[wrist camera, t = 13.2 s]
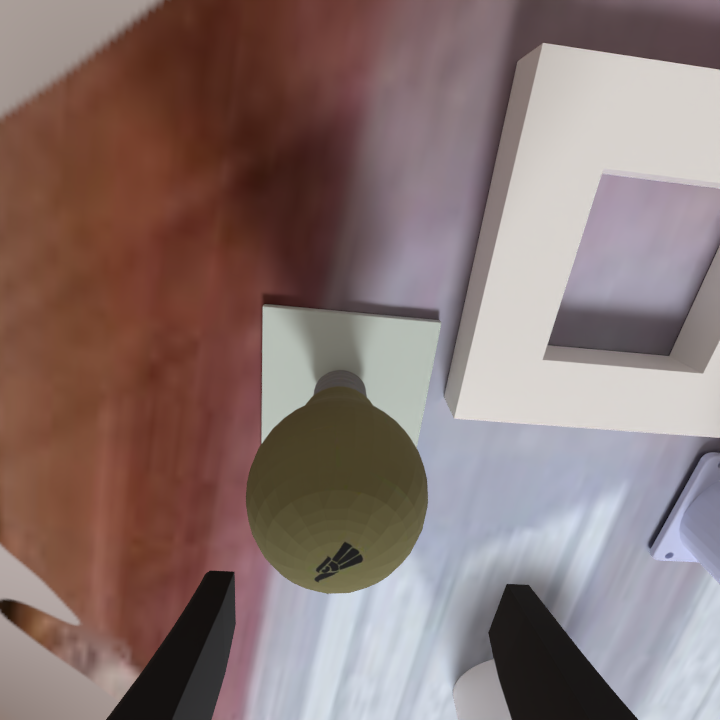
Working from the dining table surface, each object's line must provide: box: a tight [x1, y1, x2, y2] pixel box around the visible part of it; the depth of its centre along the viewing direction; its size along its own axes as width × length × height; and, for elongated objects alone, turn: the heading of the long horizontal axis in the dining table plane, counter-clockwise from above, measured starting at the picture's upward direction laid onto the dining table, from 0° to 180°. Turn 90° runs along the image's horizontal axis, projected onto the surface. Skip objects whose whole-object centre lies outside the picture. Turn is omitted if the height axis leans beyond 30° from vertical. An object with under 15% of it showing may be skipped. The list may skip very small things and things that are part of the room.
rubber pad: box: [262, 304, 441, 448], centre depth 19 cm, size 8×8×1 cm
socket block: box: [444, 43, 720, 438], centre depth 17 cm, size 14×14×2 cm
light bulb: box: [246, 370, 428, 594], centre depth 14 cm, size 6×6×10 cm
